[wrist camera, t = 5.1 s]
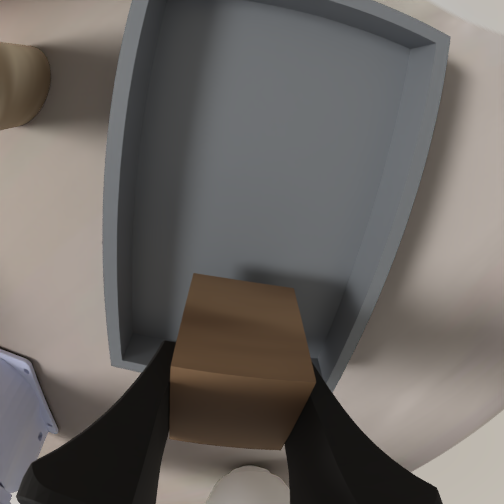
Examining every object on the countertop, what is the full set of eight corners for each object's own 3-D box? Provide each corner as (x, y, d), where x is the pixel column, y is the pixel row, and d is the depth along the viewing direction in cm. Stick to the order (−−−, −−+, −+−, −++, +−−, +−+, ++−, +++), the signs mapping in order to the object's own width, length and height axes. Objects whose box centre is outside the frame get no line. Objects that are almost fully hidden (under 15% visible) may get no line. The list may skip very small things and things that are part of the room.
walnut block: (271, 359, 15) (281, 450, 10) (186, 347, 14) (169, 438, 10) (293, 288, 13) (316, 382, 8) (193, 272, 13) (170, 365, 8)
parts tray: (322, 361, 18) (331, 394, 15) (124, 334, 16) (111, 365, 14) (419, 44, 10) (450, 36, 8) (159, -16, 9) (143, -37, 7)
